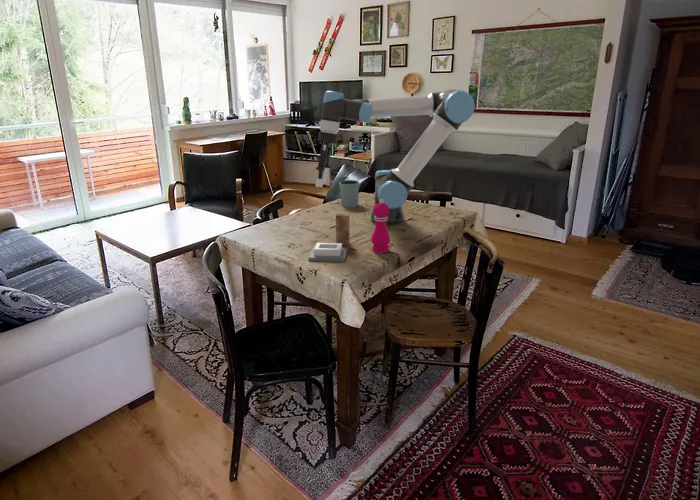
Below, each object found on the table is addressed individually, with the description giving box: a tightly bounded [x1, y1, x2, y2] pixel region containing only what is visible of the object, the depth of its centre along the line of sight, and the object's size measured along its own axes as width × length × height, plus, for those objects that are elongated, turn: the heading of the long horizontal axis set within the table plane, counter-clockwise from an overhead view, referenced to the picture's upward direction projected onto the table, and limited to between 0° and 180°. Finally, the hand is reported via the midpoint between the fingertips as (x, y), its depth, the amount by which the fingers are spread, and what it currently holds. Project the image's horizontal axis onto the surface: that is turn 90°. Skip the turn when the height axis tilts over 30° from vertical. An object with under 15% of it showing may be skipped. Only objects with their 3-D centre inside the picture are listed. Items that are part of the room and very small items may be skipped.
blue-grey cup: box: [338, 179, 360, 208], centre depth 237 cm, size 10×10×12 cm
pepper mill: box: [370, 199, 391, 254], centre depth 174 cm, size 7×7×20 cm
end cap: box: [308, 242, 348, 263], centre depth 172 cm, size 13×11×4 cm
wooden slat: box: [335, 213, 351, 246], centre depth 182 cm, size 5×2×12 cm, turn 85°
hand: (321, 185), depth 190 cm, fingers open, 13 cm apart
